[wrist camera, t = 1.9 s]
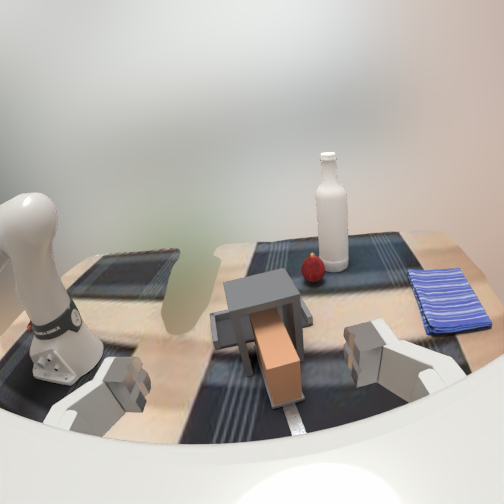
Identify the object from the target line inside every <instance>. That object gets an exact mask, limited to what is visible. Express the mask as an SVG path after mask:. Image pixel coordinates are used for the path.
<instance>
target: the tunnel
mask: <svg viewBox="0 0 504 504" xmlns="http://www.w3.org/2000/svg"><path fill="white" fill-rule="evenodd" d="M223 285H224V290H225V295H226V300H227V305H228V310H229V314H230V318H231V321H232V325H233V329H234V332H235V336H236V340H237V343H238V347H239V350H240V354H241V357H242V361H243V364H244V368H245V371H246V374H247V377H248V376H252V375H254V374H253V370H252V366H251V362H250V358H249V355H248V351H247V347H246V343H245V339H244V335H243V331H242V327H241V323H240V319H239V316H241V315H246V314H250V313H254V312H258V311H262V310H266V309H270V308H274V307H278V306H281V305H282V312H283V320H284V326H285V328H286V330H287V333H288V335H289V337H290V339H291V341H292V344H293V346H294V348H295V350H296V353H297V355H298V357H299V359H300V362H303V361H304V349H303V331H302V315H301V301H300V293H299V291H298V290H297V288H296V286H295V285H294V283H293V282H292V280H291V278H290V277H289V275H288V273H287V272H286V270H285V269H284V268H282V269H278V270H274V271H269V272H265V273H261V274H257V275H253V276H249V277H244V278H240V279H236V280H231V281H227V282H223Z"/></svg>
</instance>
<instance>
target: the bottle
mask: <svg viewBox="0 0 504 504" xmlns="http://www.w3.org/2000/svg"><path fill="white" fill-rule="evenodd" d="M320 156H321V158H320V161H321V166H322V177H323V182H322V183H321V184H320V185H319V187H318V189H317V193H316V207H317V221H318V236H319V258H320V259H321V260H322V261H323V263H324V265H325V271H327V272H333V273H334V272H340V271H343V270H345V269H346V268H347V267H348V212H347V194H346V191H345V188H344V186H343V185H342V184H340V183H339V182H338V180H337V167H336V155H335V153H334V152H324V153H321V154H320Z"/></svg>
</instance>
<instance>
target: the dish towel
mask: <svg viewBox="0 0 504 504" xmlns="http://www.w3.org/2000/svg"><path fill="white" fill-rule="evenodd" d="M407 273H408V277H409V280H410V283H411V286H412V288H413V291H414V294H415V298H416V300H417V304H418V306H419V309H420V313H421V318H422V321H423V324H424V328H425V330H426V333H427V334H428V335H442V334H451V333H460V332H469V331H476V330H484V329H489V328H491V327H492V322H491V320H490V319H489V317H488V315H487V314H486V312H485V310H484V308H483V306H482V305H481V303H480V301H479V299H478V298H477V296H476V294H475V293H474V291H473V290H472V288H471V286H470V284H469V283H468V282H467V280H466V278H465V277H464V275H463V273H462V271H461V270H460V268H456V269H442V270H412V269H408V271H407Z"/></svg>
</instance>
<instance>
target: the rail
mask: <svg viewBox="0 0 504 504" xmlns="http://www.w3.org/2000/svg"><path fill="white" fill-rule="evenodd" d="M282 407H283V410H284V413H285V416H286V418H287V421H288V424H289V427H290V430H291V433H292V436H295V435H301V434H306V431H305V428H304V426H303V423H302V420H301V418H300V415H299V413H298V410H297V407H296V405H295V403H293V404H289V405H286V406H282Z"/></svg>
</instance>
